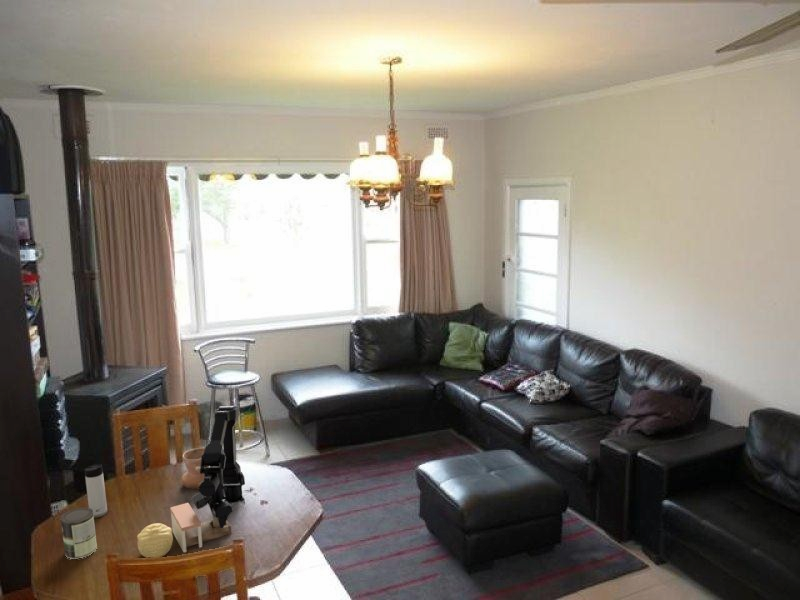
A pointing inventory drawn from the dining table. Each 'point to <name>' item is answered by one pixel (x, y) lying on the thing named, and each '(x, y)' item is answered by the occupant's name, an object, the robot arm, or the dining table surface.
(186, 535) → the socket block
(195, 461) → the ceramic jug
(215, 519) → the peg
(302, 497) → the dining table surface
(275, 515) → the dining table surface
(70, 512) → the coffee can
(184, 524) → the footed pink board
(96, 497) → the travel mug
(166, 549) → the sculpture
